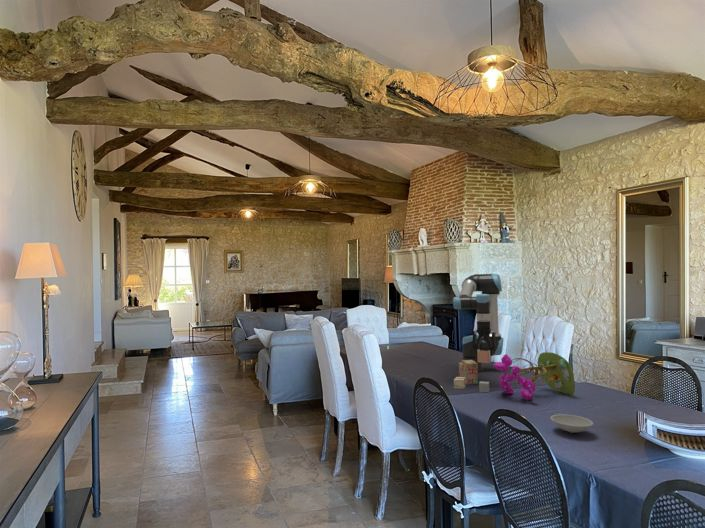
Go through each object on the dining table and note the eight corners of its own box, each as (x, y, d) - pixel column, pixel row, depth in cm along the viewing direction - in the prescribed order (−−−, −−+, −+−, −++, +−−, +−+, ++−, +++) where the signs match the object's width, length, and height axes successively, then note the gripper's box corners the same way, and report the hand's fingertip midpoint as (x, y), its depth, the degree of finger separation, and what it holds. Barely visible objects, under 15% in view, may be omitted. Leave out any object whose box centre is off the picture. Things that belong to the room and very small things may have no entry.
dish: (542, 428, 208) (541, 416, 209) (571, 424, 213) (570, 412, 213) (572, 441, 192) (571, 428, 192) (603, 437, 196) (602, 424, 196)
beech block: (456, 385, 295) (456, 376, 295) (466, 385, 293) (465, 377, 293) (453, 388, 286) (453, 379, 286) (463, 389, 284) (463, 380, 284)
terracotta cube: (481, 360, 294) (481, 350, 294) (491, 361, 290) (491, 351, 290) (477, 362, 289) (477, 351, 289) (487, 363, 285) (487, 352, 285)
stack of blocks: (458, 377, 318) (458, 357, 318) (468, 376, 318) (468, 357, 319) (467, 384, 297) (467, 363, 297) (478, 384, 297) (477, 363, 297)
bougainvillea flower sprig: (568, 338, 260) (511, 353, 249) (586, 394, 254) (529, 411, 242) (533, 346, 288) (481, 359, 277) (549, 396, 281) (496, 412, 270)
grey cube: (480, 390, 280) (480, 381, 280) (489, 390, 278) (489, 381, 278) (479, 392, 275) (479, 383, 276) (488, 392, 274) (488, 383, 274)
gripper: (465, 320, 292) (466, 360, 292) (497, 322, 281) (498, 363, 281) (470, 319, 299) (471, 358, 298) (501, 320, 288) (503, 361, 287)
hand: (484, 361), depth 289 cm, fingers closed on terracotta cube, 6 cm apart
